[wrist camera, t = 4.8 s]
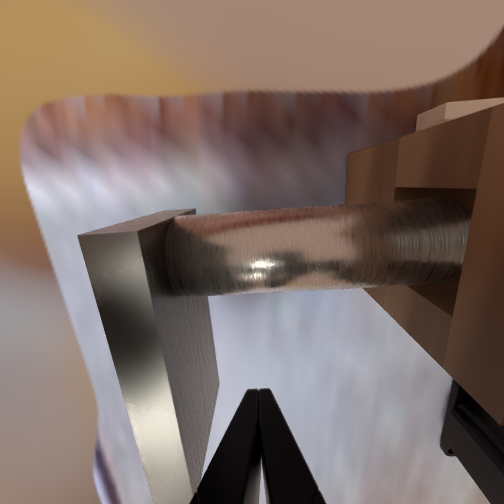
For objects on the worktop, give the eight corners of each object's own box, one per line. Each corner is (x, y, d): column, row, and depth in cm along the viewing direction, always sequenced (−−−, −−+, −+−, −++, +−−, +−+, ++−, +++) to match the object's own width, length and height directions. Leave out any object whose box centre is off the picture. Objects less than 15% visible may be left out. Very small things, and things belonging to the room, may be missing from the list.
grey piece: (400, 194, 8) (544, 204, 4) (381, 378, 11) (462, 504, 6) (164, 210, 9) (77, 235, 5) (194, 384, 11) (155, 508, 7)
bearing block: (409, 149, 11) (872, 44, 3) (396, 264, 13) (663, 421, 4) (347, 154, 12) (608, 67, 3) (342, 268, 13) (500, 425, 5)
